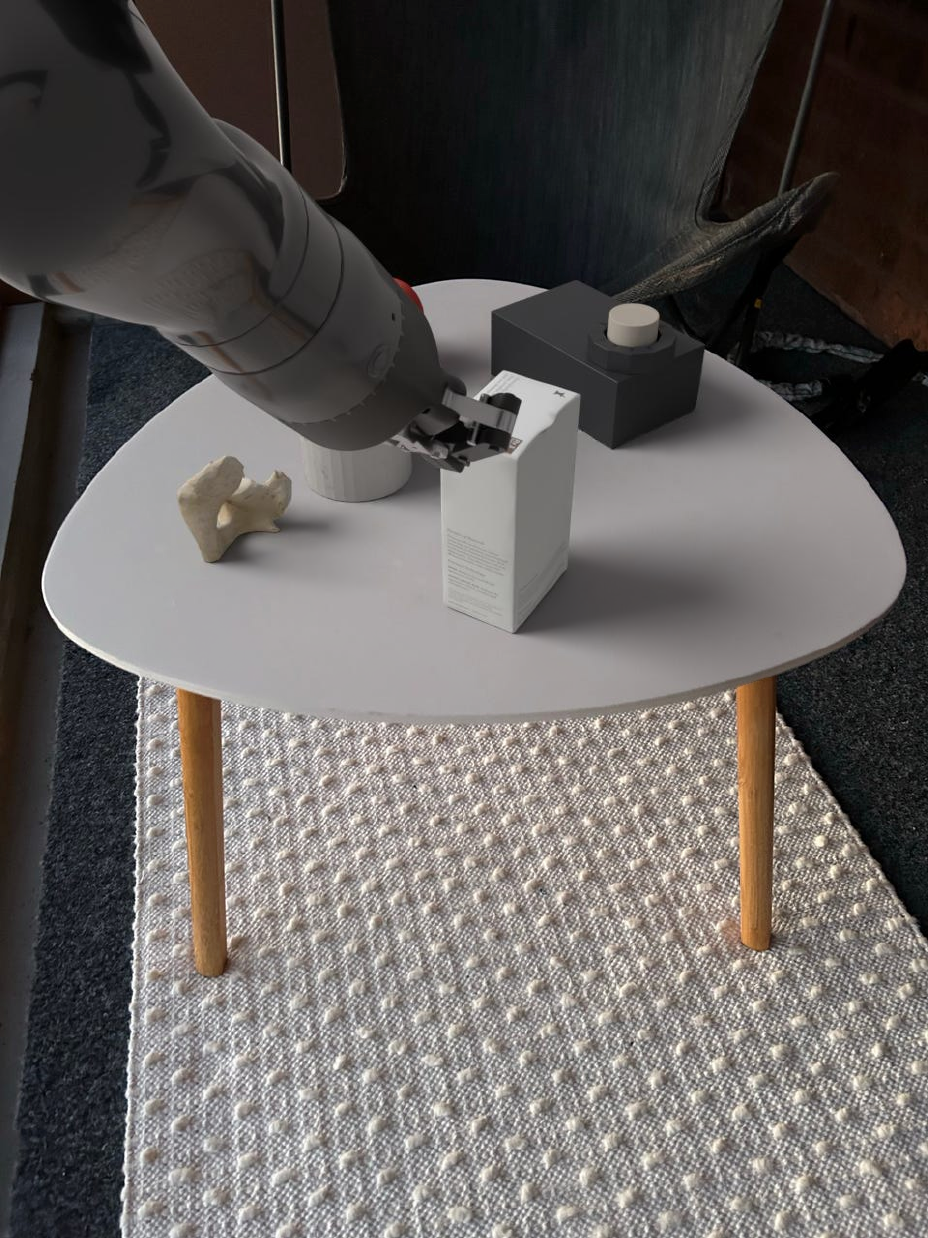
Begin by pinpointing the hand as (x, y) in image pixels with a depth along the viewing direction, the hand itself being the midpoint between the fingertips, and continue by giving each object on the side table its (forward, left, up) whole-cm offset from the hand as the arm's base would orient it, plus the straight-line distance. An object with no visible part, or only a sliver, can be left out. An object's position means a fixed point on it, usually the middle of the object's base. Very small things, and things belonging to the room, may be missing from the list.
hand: (455, 453), depth 59 cm
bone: (+21, -8, -17) cm, 28 cm away
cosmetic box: (0, -8, -17) cm, 19 cm away
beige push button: (-2, -33, -9) cm, 35 cm away
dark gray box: (+2, -37, -17) cm, 40 cm away
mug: (+17, -20, -17) cm, 31 cm away
